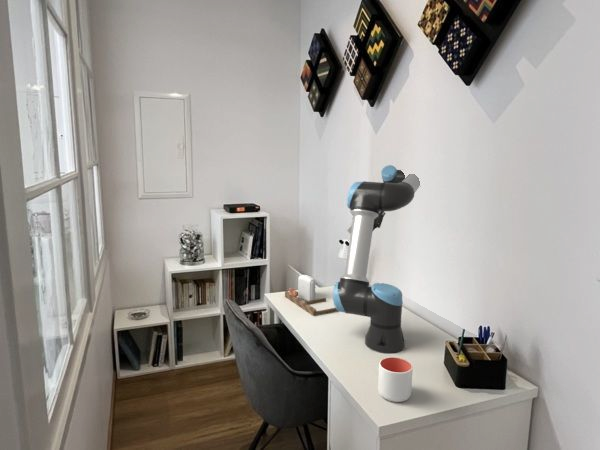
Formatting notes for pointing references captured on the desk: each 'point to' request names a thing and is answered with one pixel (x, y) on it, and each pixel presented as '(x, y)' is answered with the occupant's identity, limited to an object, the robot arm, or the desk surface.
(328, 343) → the desk surface
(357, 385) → the desk surface
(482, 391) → the desk surface
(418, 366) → the desk surface
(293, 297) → the wooden stand frame
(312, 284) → the photo printer
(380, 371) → the cup
